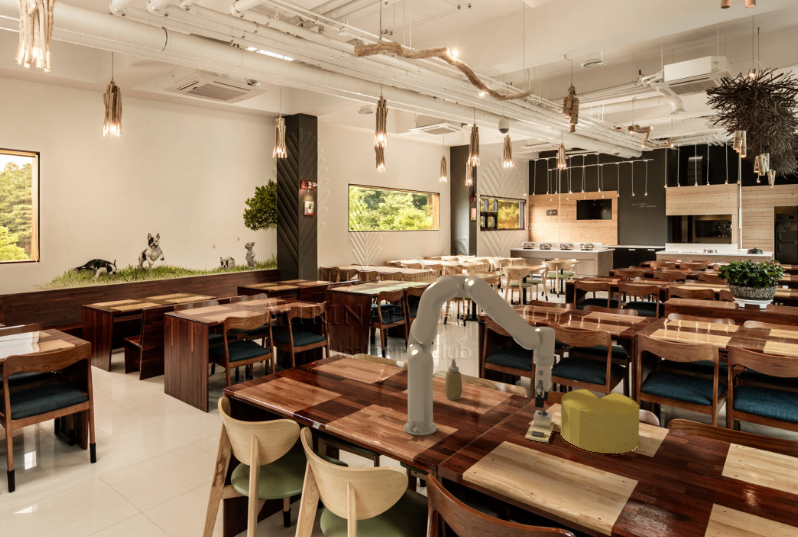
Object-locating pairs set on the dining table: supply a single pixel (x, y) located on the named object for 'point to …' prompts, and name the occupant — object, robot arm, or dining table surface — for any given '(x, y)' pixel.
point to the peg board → (540, 431)
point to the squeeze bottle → (453, 382)
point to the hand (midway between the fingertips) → (541, 403)
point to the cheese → (600, 422)
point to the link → (542, 419)
